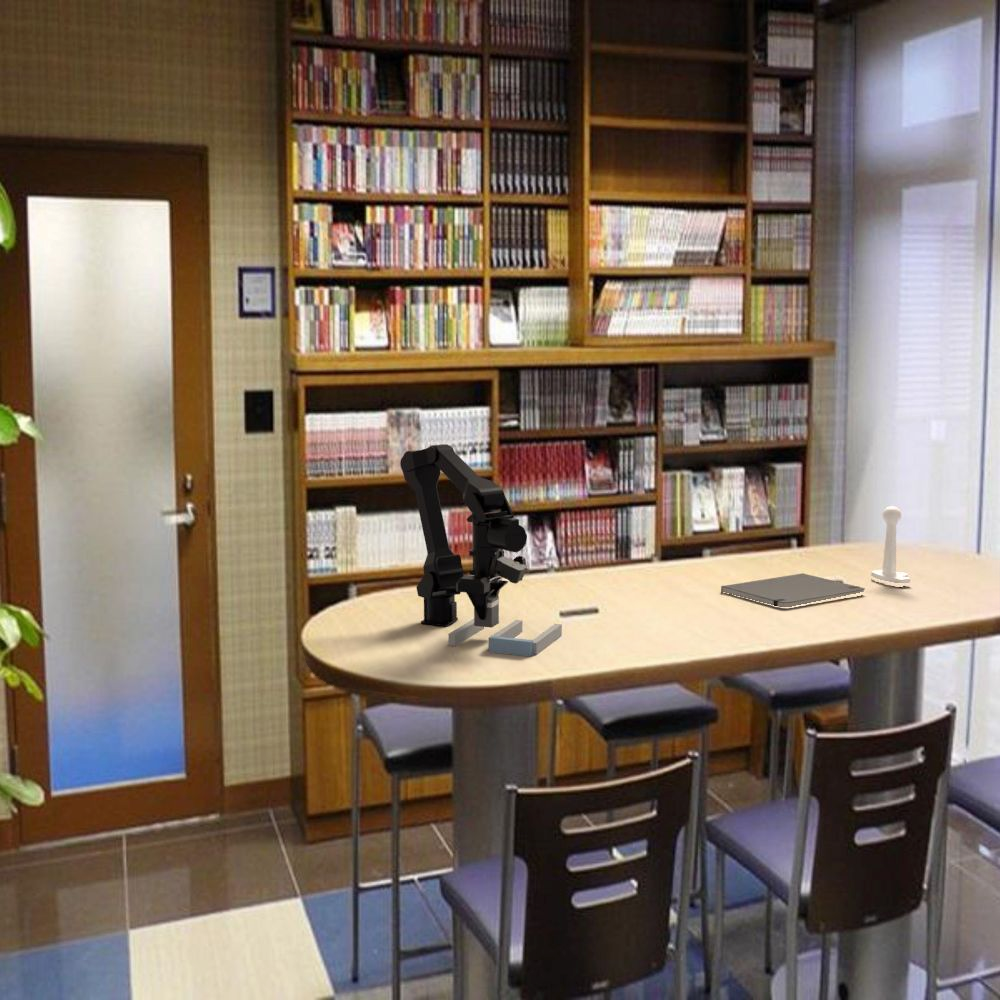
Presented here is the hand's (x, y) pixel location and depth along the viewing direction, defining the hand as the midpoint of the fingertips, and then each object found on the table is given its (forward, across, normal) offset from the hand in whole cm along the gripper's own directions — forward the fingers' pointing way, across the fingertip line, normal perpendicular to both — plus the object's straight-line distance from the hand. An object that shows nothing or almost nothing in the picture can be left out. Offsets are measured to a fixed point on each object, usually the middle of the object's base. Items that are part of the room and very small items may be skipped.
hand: (486, 617), depth 259 cm
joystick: (+5, +88, -77) cm, 117 cm away
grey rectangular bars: (+5, 0, -4) cm, 6 cm away
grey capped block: (+2, 0, 0) cm, 2 cm away
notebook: (+5, +66, -55) cm, 86 cm away
